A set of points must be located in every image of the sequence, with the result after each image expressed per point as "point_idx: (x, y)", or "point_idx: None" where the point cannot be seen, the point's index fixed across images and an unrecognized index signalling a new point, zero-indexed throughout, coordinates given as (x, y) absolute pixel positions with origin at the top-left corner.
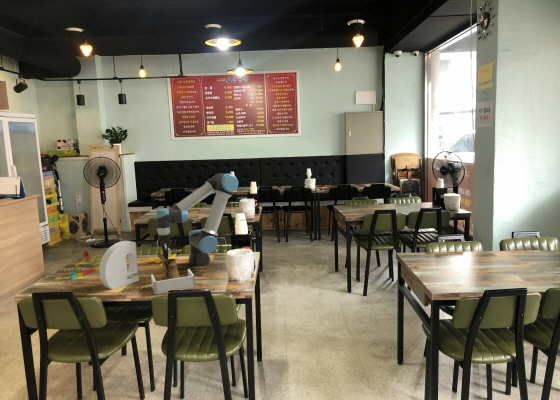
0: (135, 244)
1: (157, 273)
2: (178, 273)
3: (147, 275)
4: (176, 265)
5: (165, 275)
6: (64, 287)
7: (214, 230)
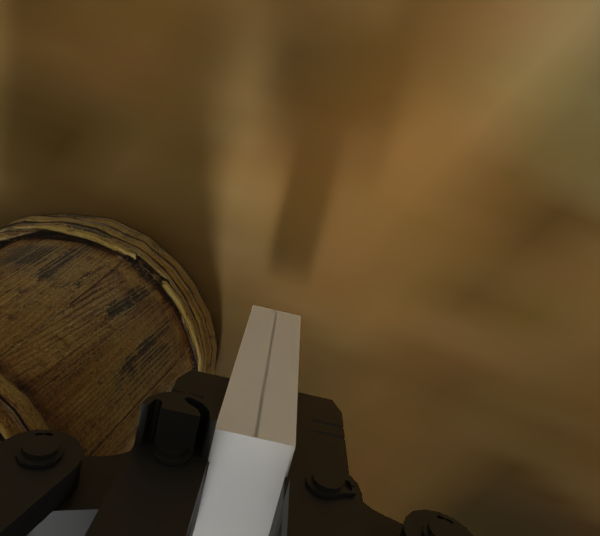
0: None
1: (520, 233)
2: None
3: (551, 30)
4: None
5: (41, 242)
6: None
7: None
